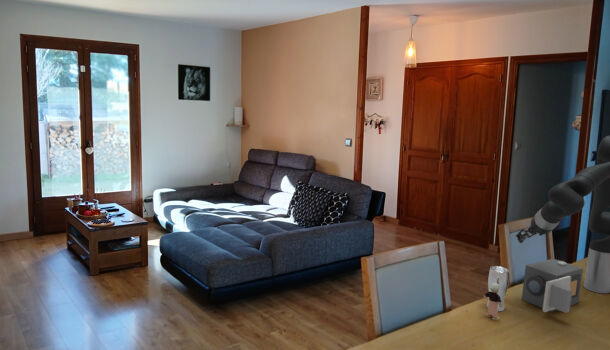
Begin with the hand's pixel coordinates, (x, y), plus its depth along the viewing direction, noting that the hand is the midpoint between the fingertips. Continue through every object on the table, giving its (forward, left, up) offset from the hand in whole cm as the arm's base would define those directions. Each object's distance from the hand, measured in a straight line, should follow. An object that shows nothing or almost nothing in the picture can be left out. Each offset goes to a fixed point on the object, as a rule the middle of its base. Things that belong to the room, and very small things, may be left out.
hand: (529, 237), depth 175 cm
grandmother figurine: (+18, +20, -25) cm, 37 cm away
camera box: (-9, +3, -25) cm, 26 cm away
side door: (-8, +15, -23) cm, 28 cm away
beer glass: (+14, +12, -25) cm, 31 cm away
